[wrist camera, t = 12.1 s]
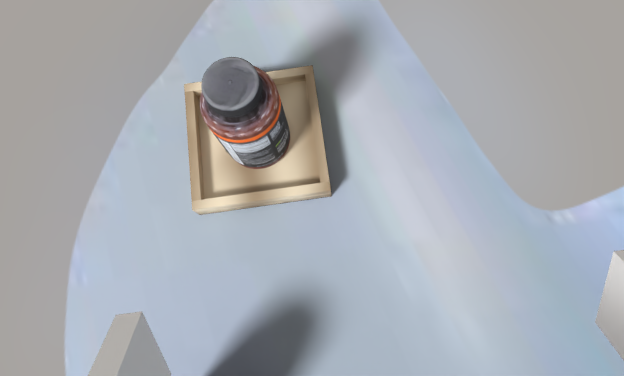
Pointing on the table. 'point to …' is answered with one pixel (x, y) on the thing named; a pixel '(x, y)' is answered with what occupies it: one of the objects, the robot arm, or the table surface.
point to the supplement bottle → (244, 112)
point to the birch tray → (268, 181)
